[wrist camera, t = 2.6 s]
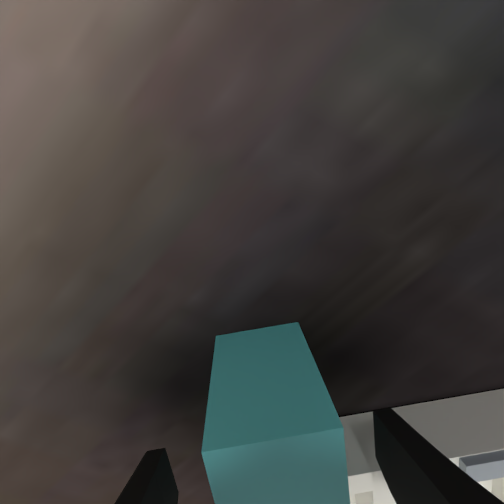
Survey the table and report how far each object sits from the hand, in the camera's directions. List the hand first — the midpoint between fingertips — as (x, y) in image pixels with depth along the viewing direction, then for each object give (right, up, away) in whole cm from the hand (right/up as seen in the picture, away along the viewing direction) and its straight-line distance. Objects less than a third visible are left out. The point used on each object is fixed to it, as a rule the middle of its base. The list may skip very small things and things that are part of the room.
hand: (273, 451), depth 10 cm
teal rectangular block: (0, +1, +4) cm, 5 cm away
